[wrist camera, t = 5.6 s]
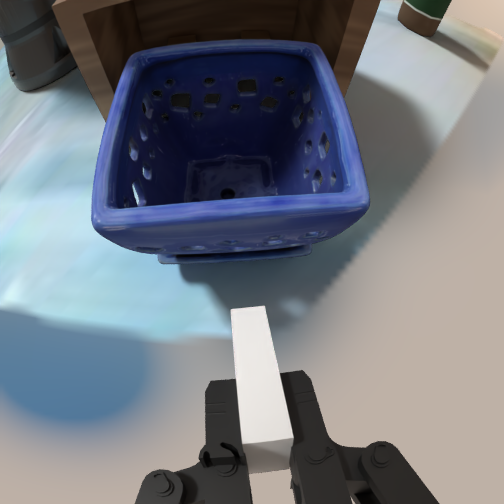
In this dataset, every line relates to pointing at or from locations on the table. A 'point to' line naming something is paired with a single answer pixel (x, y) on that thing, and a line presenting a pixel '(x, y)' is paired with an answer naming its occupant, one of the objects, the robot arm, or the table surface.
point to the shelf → (206, 31)
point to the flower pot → (228, 154)
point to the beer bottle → (423, 15)
